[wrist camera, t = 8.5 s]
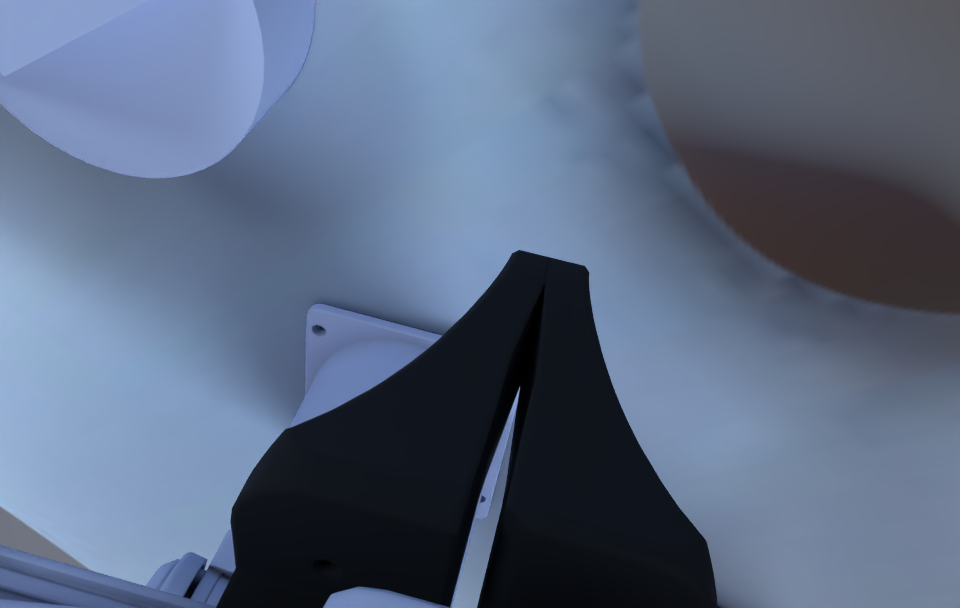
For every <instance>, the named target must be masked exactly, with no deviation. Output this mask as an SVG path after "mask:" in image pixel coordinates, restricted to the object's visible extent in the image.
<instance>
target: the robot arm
mask: <svg viewBox="0 0 960 608" xmlns="http://www.w3.org/2000/svg"><path fill="white" fill-rule="evenodd" d="M317 325H319V326H321V327H323V328H324V329H322V328H319V327H318V326H317ZM516 407H517V411H516ZM515 411H516V418H515V425H514V432H513V439H512V446H511V453H510V460H509V467H508V474H507V481H506V487H505V493H504V498H503V503H502V508H501V512H500V516H499V520H498V524H497V529H496V533H495V537H494V541H493V545H492V549H491V553H490V557H489V561H488V565H487V569H486V574H485V578H484V582H483V586H482V590H481V594H480V598H479V602H478V606H477V608H717V594H716V587H715V579H714V574H713V568H712V563H711V558H710V554H709V550H708V546H707V542H706V540H705V539H704V538H703V536H702V535H701V534H700V533H699V531H698V530H697V529H696V528H695V526H694V525H693V524H692V523H691V522H690V520H689V519H688V518H687V517H686V515H685V514H684V513H683V512H682V510H681V509H680V508H679V507H678V505H677V504H676V503H675V501H674V500H673V498H672V497H671V495H670V494H669V492H668V491H667V489H666V488H665V486H664V485H663V484H662V482H661V481H660V479H659V477H658V475H657V474H656V472H655V470H654V469H653V467H652V465H651V464H650V462H649V460H648V459H647V457H646V455H645V453H644V452H643V450H642V448H641V447H640V445H639V443H638V441H637V439H636V437H635V435H634V433H633V431H632V429H631V427H630V425H629V423H628V421H627V419H626V416H625V414H624V412H623V410H622V408H621V405H620V403H619V400H618V398H617V395H616V393H615V390H614V388H613V385H612V382H611V379H610V376H609V373H608V370H607V367H606V364H605V361H604V358H603V354H602V351H601V347H600V343H599V339H598V335H597V331H596V327H595V323H594V318H593V312H592V306H591V300H590V291H589V272H588V270H587V269H586V267H585V266H583V265H578V264H574V263H570V262H566V261H562V260H558V259H554V258H550V257H546V256H541V255H537V254H533V253H529V252H525V251H521V250H518V251H516V252H514V253H512V255H511V257H510V258H509V260H508V262H507V264H506V265H505V267H504V268H503V270H502V271H501V272H500V274H499V275H498V277H497V278H496V279H495V280H494V282H493V283H492V284H491V285H490V287H489V288H488V289H487V290H486V292H485V293H484V294H483V295H482V296H481V297H480V298H479V299H478V301H477V302H476V303H475V304H474V305H473V306H472V307H471V308H470V309H469V311H468V312H467V313H466V314H465V315H464V316H463V317H462V318H461V319H460V320H459V321H458V322H456V323H455V324H454V325H453V326H452V327H451V328H450V329H449V330H448V331H447V332H446V333H445V334H444V335H443V336H442V335H438V334H434V333H430V332H427V331H423V330H419V329H415V328H412V327H408V326H404V325H400V324H397V323H393V322H389V321H385V320H381V319H378V318H374V317H370V316H366V315H363V314H359V313H355V312H351V311H347V310H344V309H340V308H336V307H332V306H329V305H325V304H314V305H313V306H311V307H310V309H309V311H308V313H307V316H306V368H305V398H304V400H303V402H302V404H301V405H300V407H299V409H298V411H297V413H296V415H295V417H294V419H293V421H292V423H291V424H290V426H289V428H288V429H285V430H284V432H283V433H282V434H281V435H280V436H279V437H278V438H277V440H276V441H275V442H274V443H273V444H272V445H271V447H270V448H269V449H268V450H267V452H266V453H265V454H264V456H263V457H262V458H261V460H260V461H259V462H258V464H257V465H256V467H255V468H254V469H253V471H252V473H251V474H250V476H249V478H248V479H247V481H246V483H245V485H244V487H243V489H242V491H241V492H240V494H239V496H238V498H237V500H236V502H235V504H234V506H233V508H232V514H231V530H229V531H228V532H227V533H226V535H225V537H224V539H223V541H222V543H221V545H220V547H219V548H218V550H217V552H216V554H215V556H214V558H213V560H212V562H211V564H210V565H209V568H208V569H207V571H206V570H204V569H205V566H206V563H207V559H205V558H203V557H201V556H199V555H197V554H195V553H192V552H189V553H187V554H185V555H184V556H183V557H182V558H181V559H176V560H174V561H171V562H169V563H166V564H164V565H162V566H161V567H160V568H159V569H158V570H157V571H156V573H155V574H154V575H153V576H152V578H151V579H150V581H149V582H148V584H147V585H146V586H143V585H139V584H136V583H132V582H129V581H125V580H122V579H118V578H115V577H111V576H108V575H104V574H101V573H97V572H94V571H90V570H87V569H83V568H79V567H76V566H73V565H69V564H66V563H62V562H58V561H55V560H51V559H48V558H44V557H41V556H37V555H34V554H30V553H27V552H23V551H20V550H16V549H13V548H9V547H6V546H2V545H0V608H452V605H453V601H454V597H455V593H456V590H457V586H458V582H459V578H460V575H461V571H462V567H463V564H464V560H465V556H466V552H467V549H468V545H469V541H470V537H471V534H472V530H473V526H474V522H475V519H483V518H485V517H486V516H487V515H488V511H489V508H490V504H491V500H492V496H493V493H494V489H495V485H496V482H497V478H498V474H499V470H500V467H501V463H502V459H503V456H504V452H505V448H506V444H507V441H508V437H509V433H510V430H511V426H512V422H513V418H514V415H515Z"/></svg>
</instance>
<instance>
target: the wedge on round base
mask: <svg viewBox="0 0 960 608" xmlns="http://www.w3.org/2000/svg"><path fill="white" fill-rule="evenodd" d="M314 11H315V8H314V0H0V103H1V104H2V105H3V106H4V107H5V108H6V109H7V110H8V111H9V112H10V113H11V114H12V115H13V116H15V117H16V118H17V119H18V120H19V121H20V122H22V123H23V124H24V125H25V126H26V127H28V128H29V129H30V130H32V131H33V132H34V133H36V134H37V135H39V136H40V137H41V138H43V139H44V140H46V141H47V142H49V143H50V144H52V145H54V146H55V147H57V148H59V149H61V150H62V151H64V152H66V153H67V154H69V155H71V156H74V157H76V158H78V159H80V160H82V161H84V162H86V163H88V164H91V165H94V166H97V167H99V168H102V169H105V170H108V171H111V172H115V173H120V174H124V175H128V176H135V177H143V178H172V177H178V176H185V175H189V174H192V173H195V172H198V171H201V170H204V169H206V168H208V167H209V166H211V165H213V164H215V163H217V162H219V161H220V160H221V159H223V158H224V157H225V156H226V155H228V154H229V153H230V152H231V151H233V149H234V148H235V147H236V146H237V145H238V144H239V143H240V142H241V140H242V139H243V138H244V137H245V136H246V135H247V134H248V133H249V132H250V130H251V129H252V128H253V127H254V126H255V125H256V124H257V123H258V122H259V120H260V119H261V118H262V117H263V116H264V115H265V114H266V113H267V112H268V110H269V109H270V108H271V107H272V106H273V105H274V104H275V103H276V102H277V100H278V99H279V98H280V97H281V96H282V95H283V94H284V92H285V91H286V90H287V89H288V88H289V87H290V86H291V84H292V83H293V82H294V80H295V78H296V77H297V75H298V73H299V72H300V70H301V68H302V66H303V64H304V61H305V59H306V56H307V53H308V51H309V47H310V42H311V38H312V33H313V24H314Z"/></svg>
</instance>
